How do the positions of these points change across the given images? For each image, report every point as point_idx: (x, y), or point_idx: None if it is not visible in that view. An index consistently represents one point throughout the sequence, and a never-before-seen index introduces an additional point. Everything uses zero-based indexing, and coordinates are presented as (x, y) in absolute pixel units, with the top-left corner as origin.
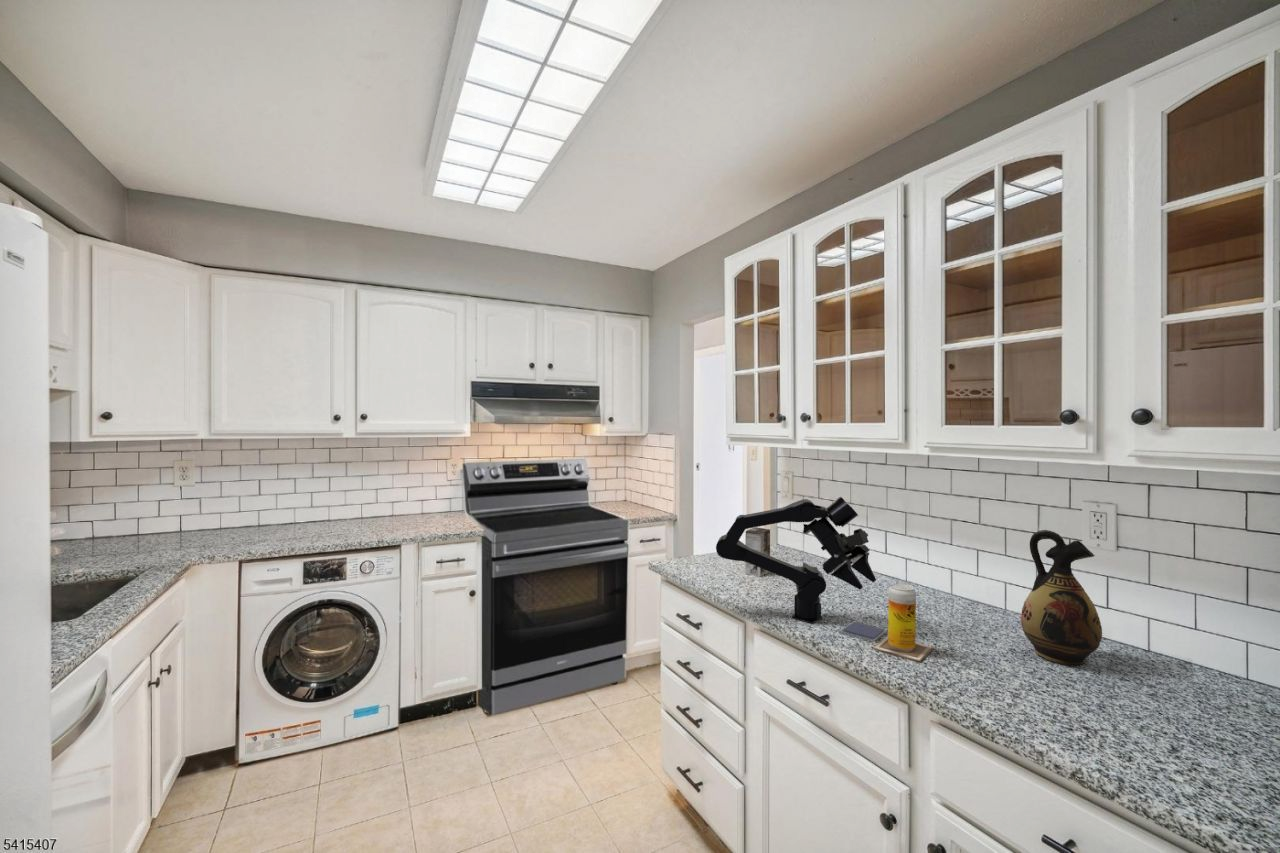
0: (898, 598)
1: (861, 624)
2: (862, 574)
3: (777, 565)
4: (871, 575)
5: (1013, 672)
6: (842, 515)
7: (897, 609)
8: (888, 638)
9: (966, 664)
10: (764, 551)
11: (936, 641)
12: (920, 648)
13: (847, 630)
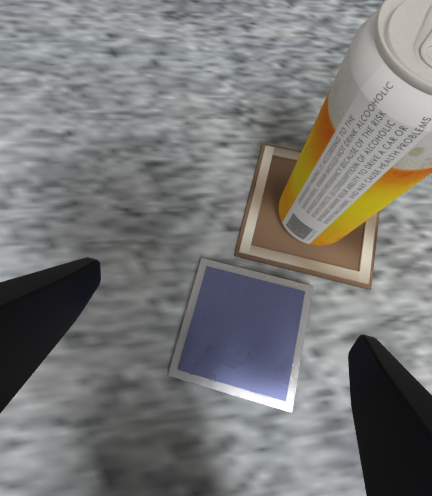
0: None
1: (193, 341)
2: (28, 375)
3: None
4: (67, 288)
5: (308, 21)
6: None
7: None
8: (336, 239)
9: (321, 88)
10: None
11: (200, 141)
12: (289, 171)
13: (286, 384)
